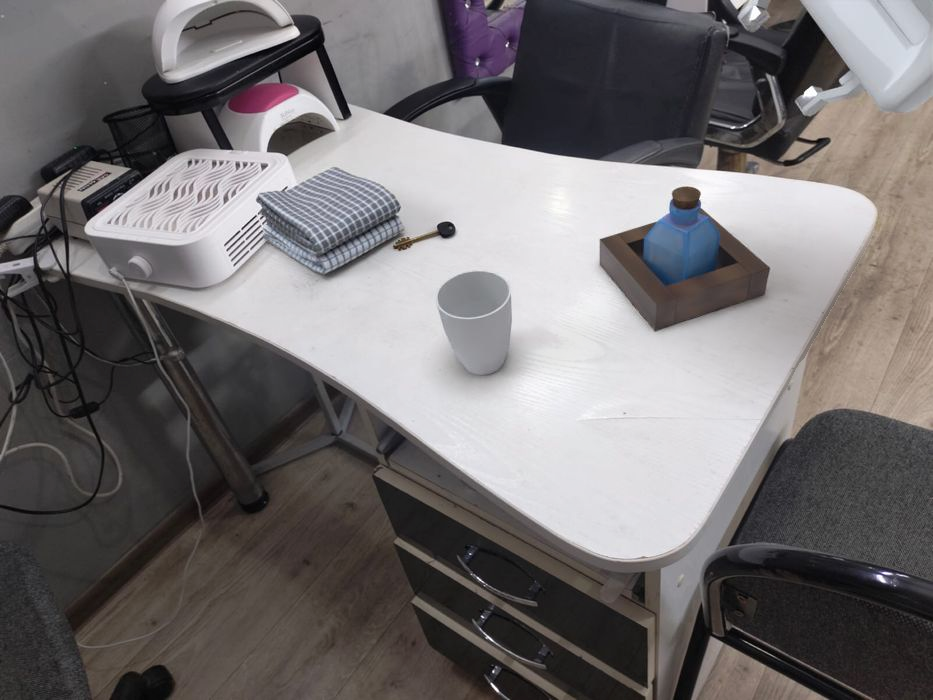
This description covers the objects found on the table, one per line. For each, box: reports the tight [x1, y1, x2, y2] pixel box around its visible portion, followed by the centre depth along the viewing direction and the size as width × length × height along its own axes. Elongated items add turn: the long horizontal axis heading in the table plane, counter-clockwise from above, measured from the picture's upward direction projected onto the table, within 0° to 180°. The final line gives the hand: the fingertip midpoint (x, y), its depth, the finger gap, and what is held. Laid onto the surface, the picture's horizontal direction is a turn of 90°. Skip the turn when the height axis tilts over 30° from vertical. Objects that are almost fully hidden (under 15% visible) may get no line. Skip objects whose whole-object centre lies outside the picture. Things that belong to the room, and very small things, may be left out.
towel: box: [255, 166, 405, 275], centre depth 100 cm, size 15×18×8 cm
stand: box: [599, 207, 771, 332], centre depth 84 cm, size 14×14×4 cm
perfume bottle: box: [643, 185, 720, 286], centre depth 82 cm, size 6×6×12 cm
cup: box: [435, 269, 513, 376], centre depth 76 cm, size 8×8×10 cm
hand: (772, 66), depth 58 cm, fingers open, 8 cm apart
